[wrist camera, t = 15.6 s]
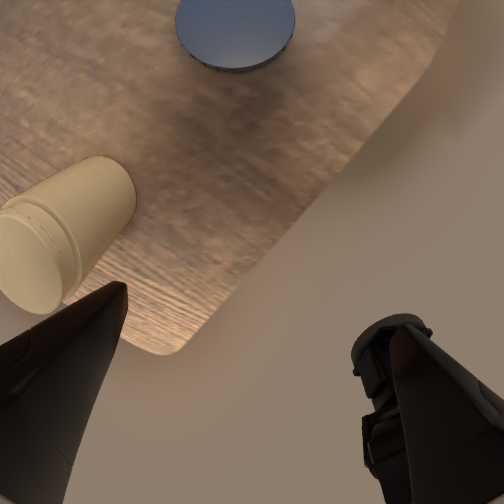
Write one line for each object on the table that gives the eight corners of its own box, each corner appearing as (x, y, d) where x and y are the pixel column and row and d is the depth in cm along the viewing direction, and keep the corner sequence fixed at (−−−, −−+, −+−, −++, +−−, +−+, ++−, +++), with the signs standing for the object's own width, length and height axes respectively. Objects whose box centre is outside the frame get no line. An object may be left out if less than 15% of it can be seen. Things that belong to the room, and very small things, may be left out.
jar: (139, 158, 19) (57, 216, 10) (136, 239, 22) (77, 331, 13) (65, 153, 18) (-31, 203, 9) (68, 228, 21) (-5, 304, 12)
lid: (230, -36, 12) (228, -47, 10) (313, 21, 14) (320, 14, 12) (159, 35, 14) (150, 30, 13) (242, 93, 17) (241, 92, 15)
